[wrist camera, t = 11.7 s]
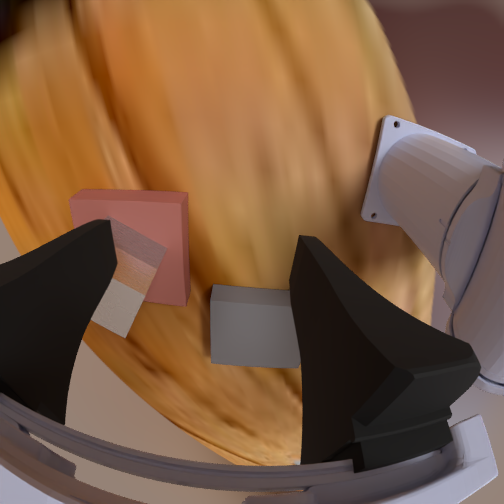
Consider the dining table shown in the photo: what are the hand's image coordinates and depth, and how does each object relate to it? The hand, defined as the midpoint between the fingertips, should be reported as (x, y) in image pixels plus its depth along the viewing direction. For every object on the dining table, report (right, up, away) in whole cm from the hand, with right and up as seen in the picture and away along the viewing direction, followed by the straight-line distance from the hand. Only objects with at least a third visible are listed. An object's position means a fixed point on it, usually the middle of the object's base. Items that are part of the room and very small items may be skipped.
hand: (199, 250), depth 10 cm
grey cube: (-7, 0, +9) cm, 12 cm away
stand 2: (+3, -7, +16) cm, 17 cm away
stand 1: (-7, +1, +11) cm, 13 cm away
